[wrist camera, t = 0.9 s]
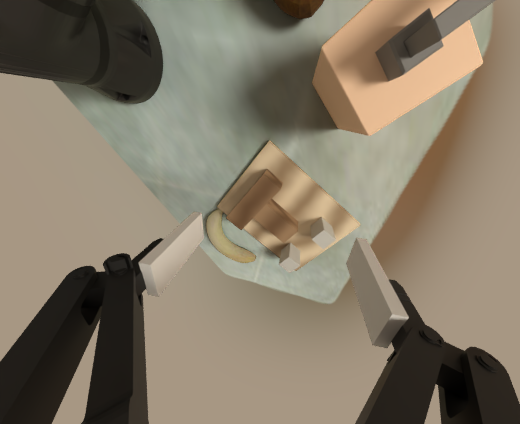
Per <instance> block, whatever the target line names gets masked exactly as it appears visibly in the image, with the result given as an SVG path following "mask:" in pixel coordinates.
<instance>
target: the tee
mask: <svg viewBox="0 0 520 424" xmlns="http://www.w3.org/2000/svg"><path fill="white" fill-rule="evenodd" d="M282 184H283V182H282V181H281V180H279V179H278V178H277V177H276V176H275V175H274V174H273V173H272V172H271V171H269V170H268V169H267V170H266V171H265V172H264V173H263V174H262V176H261V177H260V178H259V179H258V180H257V181H256V183H255V184H254V185H253V186H252V187H251V188H250V190H249V191H248V192H247V193H246V194H245V195H244V197H243V198H242V199H241V200H240V201H239V202H238V203H237V205H236V206H235V207H234V208H233V209H232V211H231V212H230V213H229V214H228V216H227V217H226V218H227V219H228V220H229V221H230V222H232V223H233V224H234V225H235V226H236V227H238V228H239V229H240V230H242V229H243V228H244V227H245V226H246V225H247V224H248V223H249V222H250V221H251V220H252V219H253V218H254V219H255V220H256V221H257V222H259V223H260V224H261V225H262V226H263V227H265V228H266V229H267V230H268V231H269V232H271V233H272V234H273V235H274V236H275V237H277V238H278V239H279V240H280V241H282V242H283V243H285V242H286V241H287V240H288V239H290V238H291V237H292V236H293V235H294V234H296V233H297V232H298V221H297V220H296V219H295V218H294V217H293V216H291V215H290V214H289V213H288V212H287V211H286V210H284V209H283V208H282V207H281V206H280V205H279V204H278V203H276V202H275V201H274V200H273V199H272V198H273V197H274V196H275V195H276V194H277V193H278V192H279V191H280V190H281V188H282Z"/></svg>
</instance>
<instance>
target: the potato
mask: <svg viewBox="0 0 520 424" xmlns="http://www.w3.org/2000/svg"><path fill="white" fill-rule="evenodd" d="M323 1H324V0H274V2H275V3H276V4H277V6H278V7H279V8H280V9H281V10H283V11H284V12H285V13H287V14H289V15H291V16H293V17H296V18H299V19H303V18H309V17H312V15H313V14H314V13H315V12H316V11H317V10H318V9H319V7H320V6H321V5H322V4H323Z"/></svg>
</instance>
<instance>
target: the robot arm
mask: <svg viewBox="0 0 520 424" xmlns="http://www.w3.org/2000/svg"><path fill="white" fill-rule="evenodd" d="M162 72H163V57H162V50H161V46H160V42H159V38H158V36H157V33H156V31H155V29H154V26H153V25H152V23H151V21H150V19H149V18H148V16H147V15H146V14H145V12H144V11H143V10H142V9H141V8H140V7H139V6H138V5H137V4H136V3H135V2H134V1H133V0H0V73H6V74H13V75H20V76H27V77H34V78H41V79H48V80H54V81H61V82H68V83H75V84H82V85H86V86H88V87H90V88H92V89H94V90H96V91H98V92H100V93H102V94H104V95H106V96H108V97H110V98H112V99H114V100H117V101H120V102H126V103H141V102H144V101H146V100H148V99H149V98H151V97H152V96H153V95H154V93H155V92H156V91H157V89H158V87H159V84H160V81H161V78H162ZM203 239H204V235H203V223H202V213H199V212H193V213H192V214H191V215H190V216H188V217H187V218H186V219H185V220H184V221H183V222H182V223H181V224H180V225H179V226H178V227H177V228H176V229H174V230H173V231H172V232H171V233H170V234H169V235H168V236H167V237H166V238H165V239H162V238H160V239H158V240H156V241H154V242H152V243H151V244H150V245H149V246H148V247H147V248H145V249H144V251H142V252H141V253H140V254H138V255H137V256H136V257H135V258H134V259H133V260H132V261H131V258H130V255H128V254H124V253H122V254H116V255H113V256H111V257H109V258H108V259H107V260H105V261H104V263H103V266H104V269H105V272H96V270H95V268H94V267H92V266H84V267H80V268H77V269H75V270H73V271H72V272H70V273H69V274H68V275H67V276H66V277H65V279H64V280H63V281H62V283H61V284H60V285H59V286H58V288H57V289H56V290H55V292H54V293H53V294H52V296H51V297H50V298H49V299H48V301H47V302H46V303H45V304H44V306H43V307H42V309H41V310H40V311H39V312H38V314H37V315H36V316H35V317H34V319H33V320H32V321H31V323H30V324H29V325H28V327H27V328H26V329H25V330H24V332H23V333H22V335H21V336H20V337H19V338H18V340H17V341H16V342H15V343H14V345H13V346H12V347H11V349H10V350H9V351H8V352H7V354H6V355H5V357H4V358H3V359H2V360H1V362H0V424H52V422H53V420H54V417H55V415H56V413H57V411H58V408H59V406H60V404H61V402H62V400H63V397H64V396H65V393H66V391H67V389H68V387H69V385H70V382H71V380H72V378H73V376H74V374H75V372H76V369H77V367H78V365H79V363H80V361H81V359H82V356H83V354H84V352H85V350H86V348H87V346H88V343H89V341H90V339H91V337H92V335H93V332H94V330H95V328H96V326H97V324H98V321H99V319H100V324H99V331H98V338H97V343H96V349H95V356H94V363H93V369H92V375H91V382H90V389H89V394H88V401H87V407H86V414H85V418H84V421H83V422H82V423H81V424H149V422H148V406H147V382H146V359H145V337H144V313H143V296H142V292H143V291H144V290H145V289H146V290H147V293H148V295H152V296H157V297H159V296H160V294H161V293H162V292H163V291H164V289H165V288H166V287H167V285H168V284H169V283H170V281H171V280H172V279H173V278H174V276H175V275H176V274H177V272H178V271H179V270H180V269H181V267H182V266H183V265H184V263H185V262H186V261H187V259H188V258H189V257H190V256H191V254H192V253H193V251H194V250H195V249H196V248H197V246H198V245H199V244H200V243H201V241H202V240H203ZM346 264H347V267H348V270H349V273H350V276H351V280H352V282H353V286H354V289H355V292H356V295H357V298H358V301H359V304H360V307H361V311H362V313H363V317H364V320H365V323H366V326H367V329H368V333H369V336H370V339H371V342H372V345H375V346H379V347H384V348H388V346H389V345H390V343H391V342H392V345H393V347H394V351H393V353H392V354H391V356H390V357H389V358H388V359H387V361H388V362H387V364H386V366H385V368H384V370H383V372H382V374H381V376H380V378H379V379H378V381H377V383H376V385H375V387H374V389H373V391H372V393H371V395H370V396H369V398H368V401H367V402H366V404H365V406H364V408H363V410H362V412H361V414H360V416H359V417H358V419H357V421H356V423H355V424H424V422H425V419H426V415H427V412H428V408H429V405H430V401H431V398H432V394H433V391H434V388H435V384H437V385H438V390H439V401H440V413H441V424H520V404H519V401H518V398H517V396H516V393H515V390H514V388H513V385H512V382H511V380H510V377H509V374H508V373H507V371H506V369H505V368H504V366H503V365H502V364H501V363H500V362H499V361H498V360H497V359H495V358H494V357H493V356H492V355H490V354H489V353H487V352H485V351H484V350H482V349H479V348H477V347H469V348H467V349H466V350H465V351H464V350H461V349H459V348H457V347H455V346H452V345H450V344H448V343H446V342H444V340H443V338H442V337H441V336H440V335H439V334H438V333H437V332H436V331H435V330H433V329H432V328H430V327H429V326H427V325H425V324H424V322H423V320H422V318H421V317H420V315H419V314H418V312H417V310H416V309H415V307H414V305H413V304H412V302H411V300H410V299H409V297H408V296H407V294H406V292H405V290H404V289H403V287H402V286H401V285H399V284H398V283H397V281H395V280H389V279H388V278H387V276H386V274H385V273H384V271H383V269H382V267H381V265H380V264H379V261H378V260H377V258H376V256H375V254H374V252H373V250H372V249H371V247H370V245H369V243H368V241H367V239H362V238H356V240H355V242H354V245H353V248H352V250H351V253H350V256H349V258H348V261H347V263H346Z"/></svg>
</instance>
